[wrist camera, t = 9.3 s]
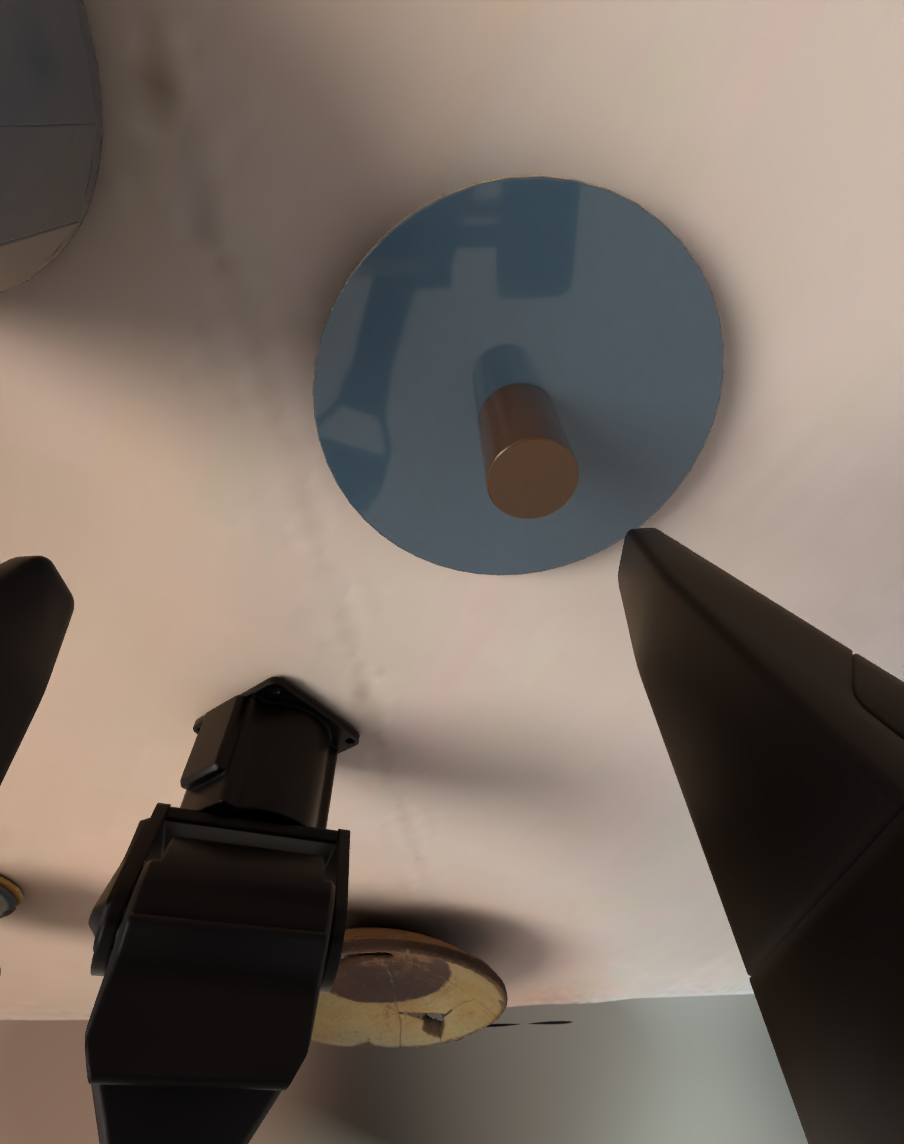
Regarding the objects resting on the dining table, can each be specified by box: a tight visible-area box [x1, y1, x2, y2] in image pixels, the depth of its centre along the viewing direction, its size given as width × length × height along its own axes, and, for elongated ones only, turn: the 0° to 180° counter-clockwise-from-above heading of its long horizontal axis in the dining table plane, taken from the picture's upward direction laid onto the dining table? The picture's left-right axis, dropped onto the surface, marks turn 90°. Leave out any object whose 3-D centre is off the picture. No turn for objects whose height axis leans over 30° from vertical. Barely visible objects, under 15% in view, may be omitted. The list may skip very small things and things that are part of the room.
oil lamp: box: [311, 928, 507, 1048], centre depth 48 cm, size 22×30×8 cm
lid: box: [313, 175, 723, 575], centre depth 18 cm, size 13×13×5 cm
